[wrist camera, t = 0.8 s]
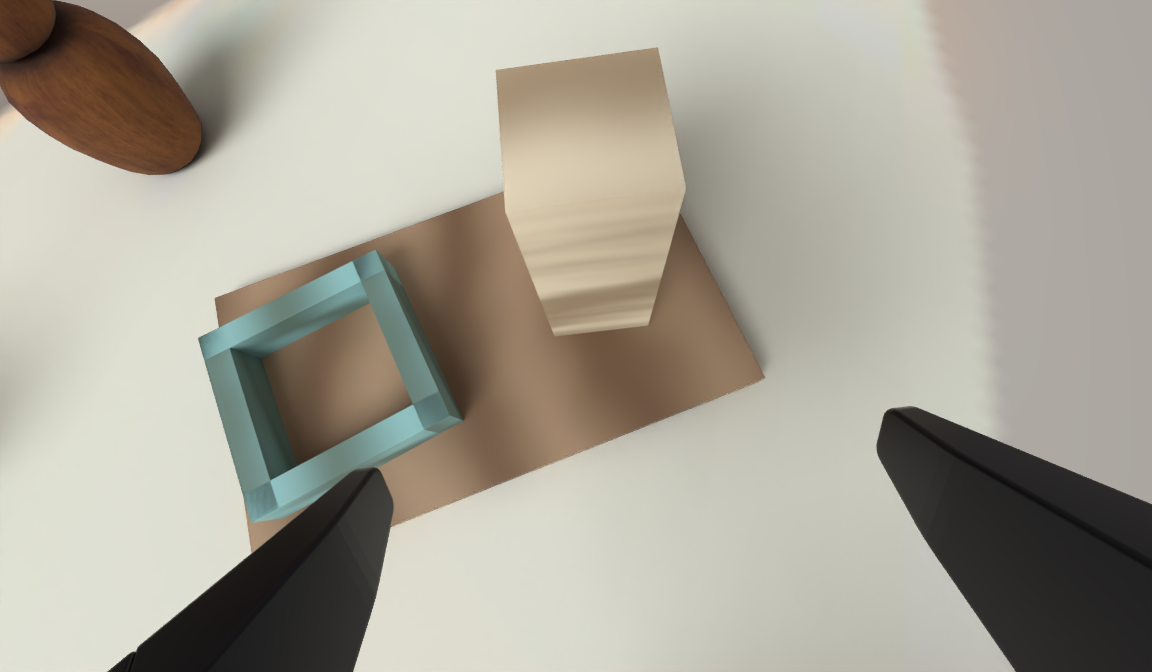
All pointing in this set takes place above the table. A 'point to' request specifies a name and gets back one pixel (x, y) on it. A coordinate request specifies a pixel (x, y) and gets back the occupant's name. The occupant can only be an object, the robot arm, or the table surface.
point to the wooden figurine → (94, 87)
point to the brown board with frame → (446, 368)
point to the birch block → (591, 184)
